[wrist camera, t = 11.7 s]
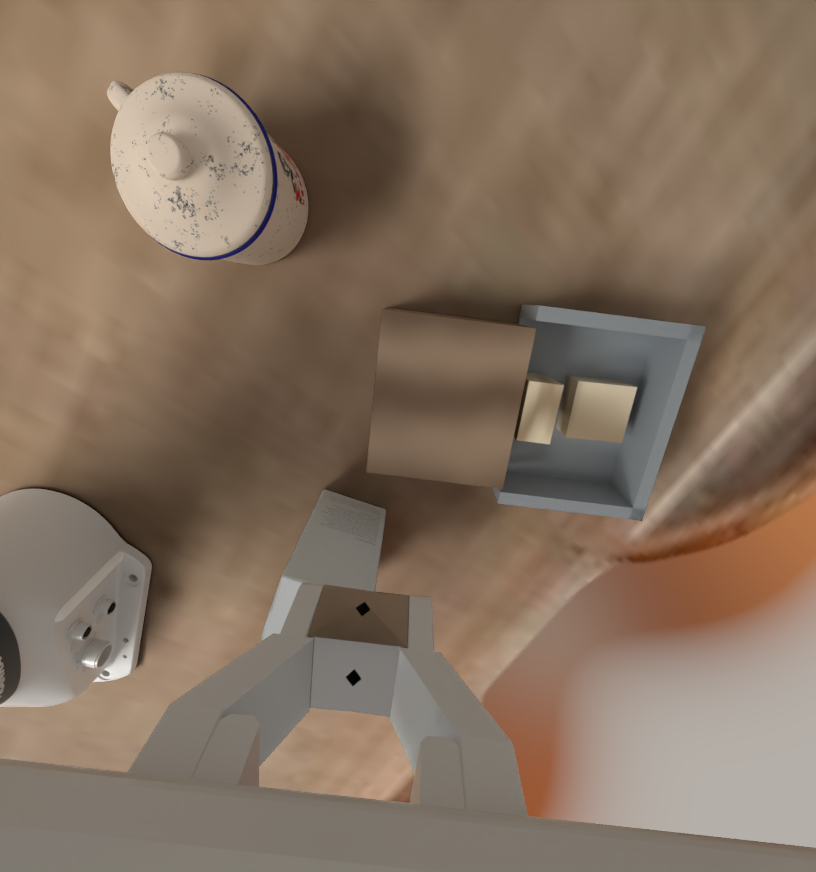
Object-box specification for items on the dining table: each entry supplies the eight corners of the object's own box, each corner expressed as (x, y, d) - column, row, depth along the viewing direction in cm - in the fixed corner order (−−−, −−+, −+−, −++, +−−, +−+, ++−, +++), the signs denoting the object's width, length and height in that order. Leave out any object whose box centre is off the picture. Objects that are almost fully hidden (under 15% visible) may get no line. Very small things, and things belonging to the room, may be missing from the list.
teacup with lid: (338, 199, 31) (293, 146, 20) (265, 294, 34) (189, 293, 23) (203, 66, 29) (71, -75, 18) (135, 178, 31) (-21, 114, 20)
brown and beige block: (491, 462, 38) (502, 488, 32) (373, 447, 37) (366, 472, 32) (518, 323, 34) (536, 328, 29) (387, 307, 34) (381, 309, 28)
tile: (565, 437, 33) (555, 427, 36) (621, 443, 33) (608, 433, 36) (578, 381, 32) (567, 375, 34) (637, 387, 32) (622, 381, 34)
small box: (362, 577, 42) (338, 694, 29) (300, 557, 41) (249, 669, 29) (389, 508, 39) (375, 605, 27) (323, 486, 39) (279, 574, 26)
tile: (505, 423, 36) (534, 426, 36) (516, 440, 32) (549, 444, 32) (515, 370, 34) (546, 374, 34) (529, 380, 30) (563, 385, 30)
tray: (614, 492, 38) (641, 520, 33) (488, 477, 38) (497, 503, 33) (665, 322, 34) (706, 326, 29) (522, 304, 33) (539, 305, 29)
